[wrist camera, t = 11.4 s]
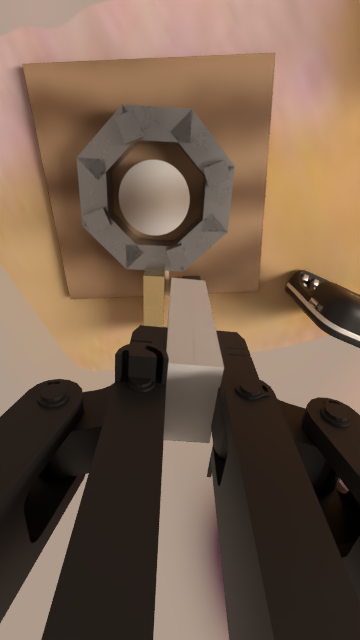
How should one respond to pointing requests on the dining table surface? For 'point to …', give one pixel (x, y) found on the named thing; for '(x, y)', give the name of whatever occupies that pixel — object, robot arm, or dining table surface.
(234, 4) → the dining table surface
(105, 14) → the dining table surface
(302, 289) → the battery charger
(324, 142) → the dining table surface
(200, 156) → the ring nut
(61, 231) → the mount plate
